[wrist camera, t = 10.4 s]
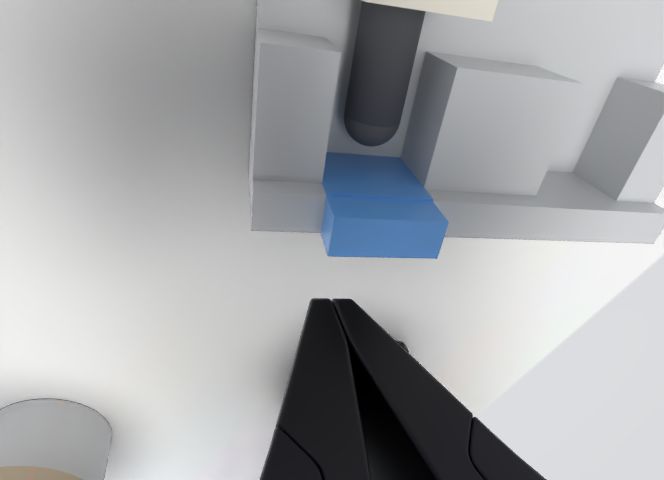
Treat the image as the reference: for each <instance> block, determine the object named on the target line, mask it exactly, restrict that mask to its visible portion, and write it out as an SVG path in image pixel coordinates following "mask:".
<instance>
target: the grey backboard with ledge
mask: <svg viewBox="0 0 664 480" xmlns="http://www.w3.org/2000/svg"><path fill="white" fill-rule="evenodd" d="M361 4H362V1H361V0H257V16H256V36H255V56H254V77H253V97H252V117H251V138H250V158H249V189H250V213H251V231H280V232H310V233H321V235H322V239H323V242H324V245H325V249H326V252H327V256H340V257H388V258H436V259H437V257H438V254H439V251H440V248H441V245H442V242H443V239H444V237H462V238H492V239H523V240H553V241H583V242H614V243H644V244H654V242H655V241H656V239H657V237H658V236H659V234H660V233H661V231H662V229H663V228H664V209H663V208H661V207H659V206H658V205H656V204H654V202H655V200H656V198H657V197H658V195H659V193H660V192H661V190H662V188H663V187H664V85H662V84H658V83H655V80H656V78H657V76H658V74H659V72H660V70H661V68H662V66H663V64H664V0H499V1H498V4H497V7H496V10H495V14H494V17H493V20H492V22H491V21H485V20H478V19H472V18H466V17H459V16H453V15H446V14H440V13H434V12H427V11H426V12H425V16H424V21H423V25H422V29H421V34H420V38H419V43H418V47H417V51H416V56H415V60H414V64H413V69H412V73H411V78H410V82H409V86H408V91H407V95H406V100H405V104H404V108H403V113H402V117H401V121H400V125H399V128H398V130H397V132H396V134H395V135H394V136H393V137H392V138H391V139H390V140H389V141H388V142H386V143H384V144H382V145H379V146H373V147H371V146H364V145H361V144H359V143H358V142H356V141H355V140H353V139H352V138H351V136H350V135H349V134H348V132H347V130H346V127H345V124H344V111H345V105H346V98H347V92H348V86H349V79H350V73H351V67H352V60H353V54H354V48H355V41H356V35H357V29H358V22H359V16H360V10H361Z"/></svg>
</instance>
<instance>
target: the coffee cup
mask: <svg viewBox="0 0 664 480" xmlns="http://www.w3.org/2000/svg"><path fill="white" fill-rule="evenodd" d="M111 438H112V431H111V427H110V425H109V423H108V422H107V421H106V419H105V418H104V417H103V416H101V415H100V414H99V413H97V412H96V411H94V410H93V409H91V408H89V407H86V406H84V405H81V404H78V403H74V402H70V401H65V400H57V399H35V400H27V401H22V402H18V403H14V404H12V405H9V406H6V407H4V408H2V409H0V480H104V477H105V472H106V466H107V460H108V455H109V449H110V443H111Z"/></svg>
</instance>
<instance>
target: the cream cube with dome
mask: <svg viewBox="0 0 664 480" xmlns="http://www.w3.org/2000/svg"><path fill="white" fill-rule="evenodd" d="M361 1H362V4H361V10H360V16H359V22H358V29H357V35H356V41H355V48H354V54H353V60H352V67H351V73H350V79H349V86H348V92H347V98H346V105H345V111H344V124H345V127H346V130H347V132H348V134H349V135H350V136H351V138H352V139H353V140H355V141H356V142H358V143H359V144H361V145H364V146H371V147H373V146H379V145H382V144H384V143H386V142H388V141H389V140H390V139H391V138H392V137H393V136H394V135H395V134H396V132H397V130H398V128H399V125H400V121H401V117H402V113H403V108H404V104H405V100H406V95H407V91H408V86H409V82H410V78H411V73H412V69H413V64H414V60H415V56H416V51H417V47H418V43H419V38H420V34H421V29H422V25H423V21H424V16H425V12H426V11H427V12H434V13H440V14H446V15H453V16H459V17H466V18H472V19H478V20H485V21H491V22H492V20H493V17H494V14H495V10H496V7H497V4H498V1H499V0H361Z"/></svg>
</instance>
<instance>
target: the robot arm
mask: <svg viewBox="0 0 664 480" xmlns="http://www.w3.org/2000/svg"><path fill="white" fill-rule="evenodd" d="M472 417H473V415H472V413H471V412H470V411H469V410H468V409H467V408H466V407H465V406H464V405H463V404H462V403H461V402H459V401H458V400H457V399H456V398H455V397H454V396H453V395H452V394H451V393H450V392H449V391H448V390H447V389H446V388H445V387H444V386H443V385H442V384H441V383H439V382H438V381H437V380H436V379H435V378H434V377H433V376H432V375H431V374H430V373H429V372H428V371H427V370H426V369H425V368H424V367H423V366H422V365H421V364H419V363H418V362H417V361H416V360H415V359H414V358H413V357H412V356H411V355H410V354H409V351H408V349H407V347H406V345H405V344H401V343H397V342H396V341H395V340H394V339H393V338H392V337H391V336H390V335H389V334H388V333H387V332H386V331H385V330H384V329H383V328H382V327H381V326H379V325H378V324H377V323H376V322H375V321H374V320H373V319H372V318H371V317H370V316H369V315H368V314H367V313H366V312H365V311H364V310H363V309H362V308H361V307H359V306H358V305H357V304H356V303H355V302H354V301H353V300H351V299H333V300H332V301H331V300H330V299H318V298H314V299H311V300H310V303H309V307H308V310H307V314H306V318H305V321H304V325H303V329H302V332H301V336H300V340H299V343H298V347H297V351H296V354H295V358H294V362H293V365H292V369H291V373H290V376H289V380H288V383H287V387H286V391H285V394H284V398H283V402H282V405H281V409H280V413H279V416H278V420H277V424H276V429H275V430H274V434H273V437H272V441H271V445H270V448H269V452H268V455H267V458H266V461H265V464H264V467H263V470H262V474H261V477H260V480H546V479H545V478H544V477H543V476H541V475H540V474H539V473H538V472H537V471H535V470H534V469H533V468H532V467H531V466H529V465H528V464H527V463H526V462H525V461H523V460H522V459H521V458H520V457H519V456H518V455H516V454H515V453H514V452H513V451H512V450H511V449H510V448H509V447H508V446H507V445H505V444H504V443H503V442H502V441H501V440H500V439H499V438H498V437H497V436H496V435H495V434H493V433H492V432H491V431H490V430H489V429H488V428H487V427H486V426H485V425H484V424H483V423H482V422H481V421H480V420H478V418H476V417H473V418H472Z"/></svg>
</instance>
